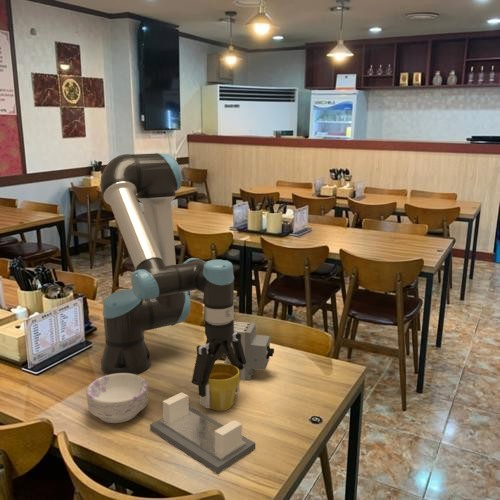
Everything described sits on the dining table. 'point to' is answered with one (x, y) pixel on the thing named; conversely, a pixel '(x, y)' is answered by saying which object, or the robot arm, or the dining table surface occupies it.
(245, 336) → the circuit breaker
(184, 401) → the mounted modules
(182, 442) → the mounting plate
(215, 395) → the plant pot
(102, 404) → the paper bowls
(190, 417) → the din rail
